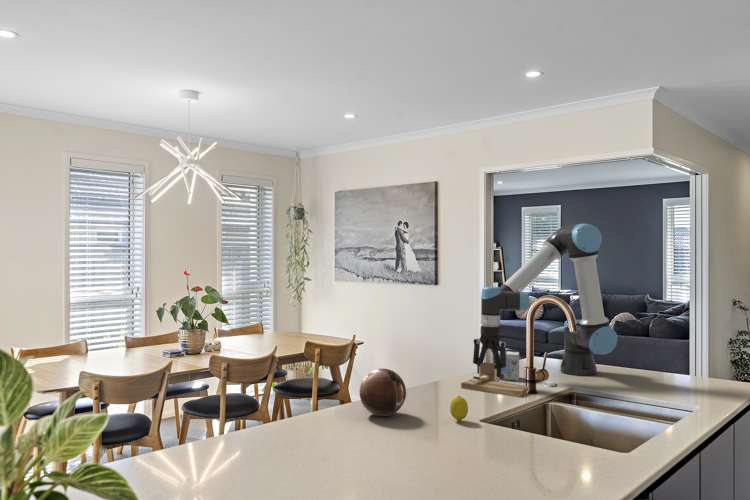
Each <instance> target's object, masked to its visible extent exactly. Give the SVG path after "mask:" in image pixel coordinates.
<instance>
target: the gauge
mask: <svg viewBox="0 0 750 500" xmlns="http://www.w3.org/2000/svg"><path fill="white" fill-rule="evenodd" d="M495 368H496V364H494V363H493V362H487V361H486V362H485V361H483V363H481V364H480V377H479V376H476V375H475V376H473V378H471V379H472V383H479V382H482V381H485V380H488V381H494V369H495Z"/></svg>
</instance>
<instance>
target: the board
mask: <svg viewBox="0 0 750 500" xmlns="http://www.w3.org/2000/svg"><path fill="white" fill-rule="evenodd" d="M472 379H473V378H471V379H467V380H464V381H462V382H460V383H461V384H460V388H461V389H466V390H473V391H478V392H479V391H480V392H485V393H492V394H498V395H503V396H504V395H505V396H509V397H517V398H520V397H522V396H524V395H527V394H528V393H527V391H528V387H525V386H526V385H522V384H516V383H515V384H514V383H509V382H508V383H507V382H501V381H499V382H495V381H488V380H485V381H482V382H479V383H472Z"/></svg>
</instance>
